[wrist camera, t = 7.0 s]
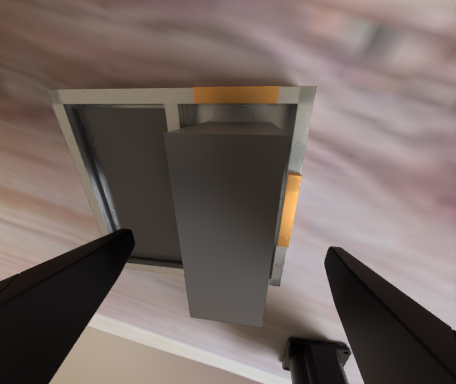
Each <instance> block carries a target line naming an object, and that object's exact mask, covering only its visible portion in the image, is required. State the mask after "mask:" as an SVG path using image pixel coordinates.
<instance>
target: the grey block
mask: <svg viewBox="0 0 456 384" xmlns="http://www.w3.org/2000/svg"><path fill="white" fill-rule="evenodd" d="M163 134H164V141H165V148H166V154H167V161H168V168H169V175H170V181H171V188H172V195H173V202H174V208H175V215H176V222H177V229H178V235H179V242H180V249H181V256H182V263H183V269H184V276H185V283H186V290H187V296H188V303H189V310H190V317H193V318H200V319H207V320H214V321H221V322H228V323H235V324H242V325H249V326H256V327H262V323H263V316H264V309H265V302H266V295H267V288H268V281H269V274H270V267H271V260H272V253H273V246H274V238H275V231H276V224H277V217H278V210H279V203H280V196H281V189H282V182H283V175H284V168H285V161H286V154H287V147H288V140H289V135H288V134H287V133H285V132H284V131H283V130H281V129H280V128H279V127H277V126H276V125H274V124H273V123H272V122H203V123H200V124H196V125H192V126H188V127H184V128H181V129H177V130H173V131H169V132H165V133H163Z"/></svg>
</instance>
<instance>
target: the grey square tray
mask: <svg viewBox="0 0 456 384" xmlns="http://www.w3.org/2000/svg"><path fill="white" fill-rule="evenodd" d="M316 88H317V86H293V87H279V86H236V87H193V88H137V89H58V90H47V93H48V96H49V98H50V101H51V103H52V106H53V109H54V111H55V114H56V117H57V119H58V122H59V125H60V127H61V130H62V133H63V135H64V138H65V140H66V143H67V146H68V148H69V151H70V154H71V156H72V159H73V162H74V164H75V167H76V170H77V172H78V175H79V177H80V180H81V183H82V185H83V188H84V191H85V193H86V196H87V199H88V201H89V204H90V207H91V209H92V212H93V214H94V217H95V220H96V222H97V225H98V228H99V230H100V233H101V236H102V237H103V236H105V235H108V234H110V233H112V232H115V231H117V230H119V229H122V228H126V229H131V230H132V232H133V236H134V239H135V247H134V249H133V251H132V253H131V255H130V257H129V259H128V261H127V262H126V264H125V266H124V268H126V269H135V270H143V271H152V272H161V273H169V274H178V275H184V269H183V263H182V256H181V249H180V242H179V235H178V229H177V222H176V215H175V208H174V202H173V195H172V188H171V181H170V175H169V168H168V161H167V154H166V148H165V141H164V134H163V133H165V132H169V131H173V130H177V129H181V128H184V127H188V126H192V125H196V124H200V123H203V122H272V123H273V124H274V125H276V126H277V127H279V128H280V129H281V130H283V131H284V132H285V133H287V134H288V135H289V140H288V147H287V154H286V161H285V168H284V175H283V182H282V189H281V196H280V203H279V210H278V217H277V224H276V231H275V238H274V246H273V253H272V260H271V267H270V274H269V281H268V285H272V286H280V281H281V276H282V271H283V265H284V260H285V255H286V249H287V247H288V246H289V240H290V235H291V230H292V225H293V219H294V214H295V209H296V204H297V198H298V193H299V188H300V183H301V177H302V175H301V168H302V163H303V158H304V152H305V147H306V141H307V136H308V131H309V125H310V120H311V114H312V109H313V104H314V98H315V93H316Z"/></svg>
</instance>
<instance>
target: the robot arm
mask: <svg viewBox="0 0 456 384" xmlns="http://www.w3.org/2000/svg"><path fill="white" fill-rule="evenodd" d="M134 247H135V239H134V236H133V232H132V230H131V229H126V228H122V229H119V230H117V231H115V232H112V233H110V234H108V235H105V236H103V237H101V238H99V239H96V240H94V241H92V242H89V243H87V244H85V245H82V246H80V247H78V248H76V249H73V250H71V251H69V252H66V253H64V254H62V255H60V256H57V257H55V258H53V259H50V260H48V261H46V262H43V263H41V264H39V265H37V266H34V267H32V268H30V269H27V270H25V271H23V272H21V273H20V274H16V275H13V276H11V277H9V278H7V279H4V280H2V281H0V384H49V383H50V381H51V379H52V378H53V376H54V375H55V373H56V372H57V370H58V369H59V367H60V366H61V364H62V363H63V361H64V360H65V358H66V357H67V355H68V354H69V352H70V351H71V349H72V347H73V346H74V344H75V343H76V341H77V340H78V338H79V337H80V335H81V334H82V332H83V331H84V329H85V327H86V326H87V325H88V323H89V322H90V320H91V318H92V317H93V315H94V314H95V312H96V311H97V309H98V308H99V306H100V305H101V303H102V302H103V300H104V299H105V297H106V296H107V294H108V293H109V291H110V290H111V288H112V286H113V285H114V283H115V282H116V280H117V279H118V277H119V275H120V274H121V272H122V270H123V268H124V266H125V264H126V262H127V261H128V259H129V257H130V255H131V253H132V251H133V249H134ZM324 265H325V269H326V273H327V277H328V281H329V285H330V289H331V292H332V296H333V300H334V303H335V306H336V309H337V312H338V314H339V317H340V320H341V322H342V325H343V328H344V330H345V333H346V336H347V338H348V341H349V344H350V346H351V349H352V352H353V354H354V357H355V360H356V362H357V365H358V368H359V370H360V373H361V376H362V378H363V381H364V384H456V330H452V328H451V327H450V326H449V325H447V324H446V323H444V322H443V321H442V320H440V319H439V318H438V317H436V316H435V315H433V314H432V313H431V312H429V311H428V310H427V309H425V308H424V307H422V306H421V305H420V304H418V303H417V302H415V301H414V300H413V299H411V298H410V297H409V296H407V295H406V294H404V293H403V292H402V291H400V290H399V289H398V288H396V287H395V286H393V285H392V284H391V283H389V282H388V281H387V280H385V279H384V278H382V277H381V276H380V275H378V274H377V273H375V272H374V271H373V270H371V269H370V268H369V267H367V266H366V265H364V264H363V263H362V262H360V261H359V260H358V259H356V258H355V257H353V256H352V255H351V254H349V253H348V252H347V251H345V250H344V249H342V248H341V247H333V246H331V247H329V249H328V251H327V254H326V258H325V261H324ZM350 355H351V351H350V349H349V347H347V346H341V345H335V344H328V343H321V342H315V341H308V340H301V339H294V338H291V339H289V340H288V344H287V348H286V351H285V355H284V359H283V363H282V366H283V369H284V370H287V371H291V378H292V384H349V383H348V380H347V377H346V374H345V371H344V369H343V367H344V365H345V363H346V362H347V360H348V358H349V356H350Z"/></svg>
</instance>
